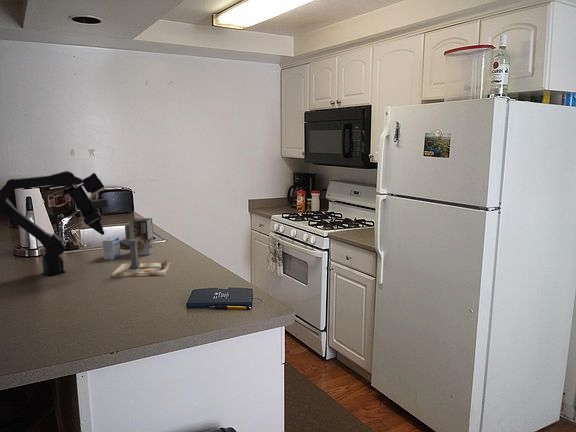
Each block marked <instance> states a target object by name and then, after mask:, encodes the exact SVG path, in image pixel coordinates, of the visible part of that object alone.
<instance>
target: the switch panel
mask: <svg viewBox="0 0 576 432" xmlns="http://www.w3.org/2000/svg"><path fill="white" fill-rule="evenodd" d="M139 263H140V266H139V267H138V268H130V265H131V263H122V264H120V265H119V266H118V268H116V269H115V270H114V271H113V272H112V273H111V277H112V278H115V277H118V278H120V277H121V278H122V277H150V276H149V275H156V276H166V274H167V273H168V271H169V270H170V268H171V266H172V262H167V259H163V260H162V261H161V262H147V263H145V262H143V263H141V262H139ZM166 272H167V273H166Z"/></svg>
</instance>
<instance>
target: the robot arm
mask: <svg viewBox="0 0 576 432" xmlns="http://www.w3.org/2000/svg"><path fill="white" fill-rule="evenodd" d="M75 185H77V186H75ZM49 186H53V187H63V192H62V196H67V195H68V196H69V198H70V199H71V201H72V202H73V204H74V205H75V207H76V208H77V210H78V211H79V212H80V215H81V216H82V218H83V220H82V221H83V222H84V224H85V225H86V226H87V227H89V228H91V229H92V230H94V231H96V232H97V233H99V234H100V235H102V236H104V235H105V234H106V233H105V231H104V228H103V225H102V223H101V220H102V216H101V213H100V210H99V209H102V208H108V207H109V200H108V198H107V197H103V196H102V195H99V196H97V198H96V199H92V198H90V197H89V196H88V194H89V193H90V194H91V195H92V194H95V193H96V192H98V191H100V190H102V189H104V188H105V186H104V184H103V183H102V180H101V179H100V178H99V177H98V176H97V174H96V172H93V173H92V174H90V175H88V176H87V177H85V178H81V177H78V176H75V174H74V173H73V172H71V171H70V170H65V171H61V172H56V173H53V174H50V175H40V176H34V177H33V176H32V177H23V178H22V177H21V178H10V179H8V180H7V181H6V183H5V185H4V186H2V188H1V189H0V215H2V216H4V217H7V218H8V219H9V220H11V221H13V223H14V224H16V225H18V226H19V227H20V228H22V229H23V230H24V231H26V232H27V233H28V234H30V235H31V236H32V237H34V238H35V239H36V240H38V241H39V242H40V243H41V245H42V246H43V248H44V249H45V250H44V251H43V255H42V259H41V260H42V263H41V264H42V272H41V273H40V274H41V275H45V276H48V277H53V276H56V275H59V274H60V275H61V274H64V273H66V270H65V269H64V260H63V256H61V255H62V254H63V253H64V251H65V247H66V246H65V242H64V240H63V238H64V237H60V236H59V235H58V234H57V233H56V232H53V233H52V234H51V233H49V232H47V231H45V230H44V229H43V228H41V226H38V225H37V224H36V223H35V222H33V221H32V220H31V219H30V218H29V217H28V216H26V215H24V214H23V213H22V212H21V211H19V210H18V209H17V208H16V207H15V206H14V205H13V203H12V202H11V201H10V200H9V199H10V197H11V195H13V193H14V192H15V191H16V190H20V189H29V188H37V187H38V188H39V187H49ZM65 187H68V188H65ZM84 189H85V190H84Z"/></svg>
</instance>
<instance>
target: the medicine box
mask: <svg viewBox="0 0 576 432" xmlns="http://www.w3.org/2000/svg"><path fill="white" fill-rule="evenodd" d="M119 241H120V237H119V236H110V237H108V238H107V239H105V240H102V249H103V258H104V260H107V261H108V260H116V259H117V258H119V257H120V256H121V247H120V243H119Z"/></svg>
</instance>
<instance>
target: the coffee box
mask: <svg viewBox="0 0 576 432" xmlns="http://www.w3.org/2000/svg"><path fill="white" fill-rule="evenodd" d="M127 223H128V224H127V225H128V234H129V238H130V239H138V242H137V249H138V256H139V255H140V256H141V255H143V256H150V255H152V254H153V253H155V246H154V245H155V244H154V243H155V242H153V241H154V232H153V231H154V229H153V217H152V218H150V217H147V218H146V217H144V218H143V217H139V218H138V217H137V218H135V217H133V218H132V219H129V220H127Z"/></svg>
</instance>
